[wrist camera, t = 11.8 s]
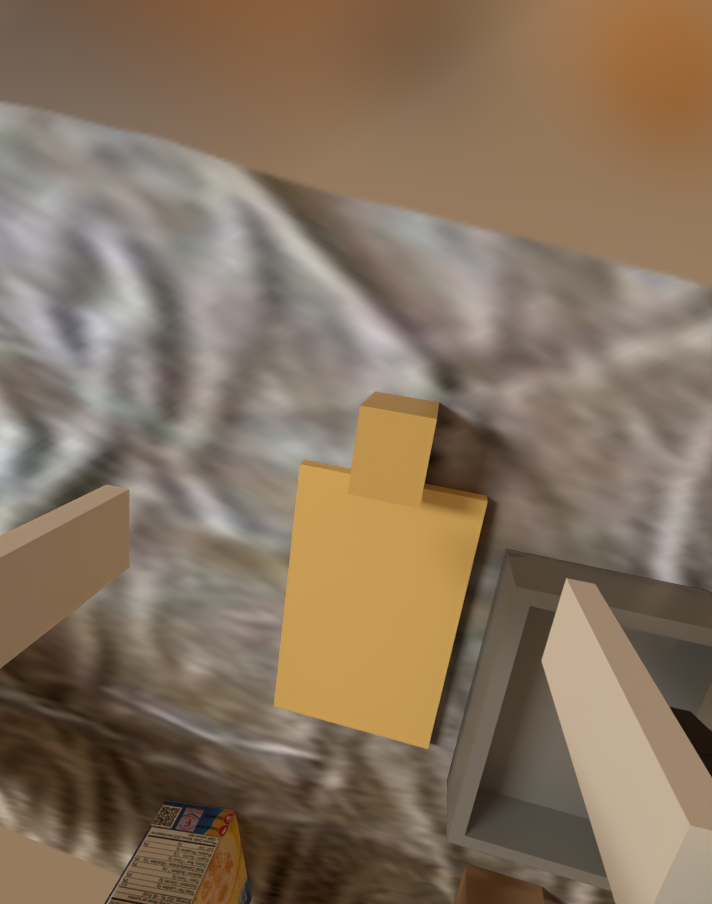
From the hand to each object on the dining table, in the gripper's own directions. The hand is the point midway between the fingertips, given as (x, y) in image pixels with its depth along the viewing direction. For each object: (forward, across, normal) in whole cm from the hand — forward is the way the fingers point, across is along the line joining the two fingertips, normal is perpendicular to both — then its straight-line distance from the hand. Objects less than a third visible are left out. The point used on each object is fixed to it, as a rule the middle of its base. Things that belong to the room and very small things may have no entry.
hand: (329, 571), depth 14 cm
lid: (+17, +1, -12) cm, 21 cm away
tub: (+16, +15, -16) cm, 27 cm away
